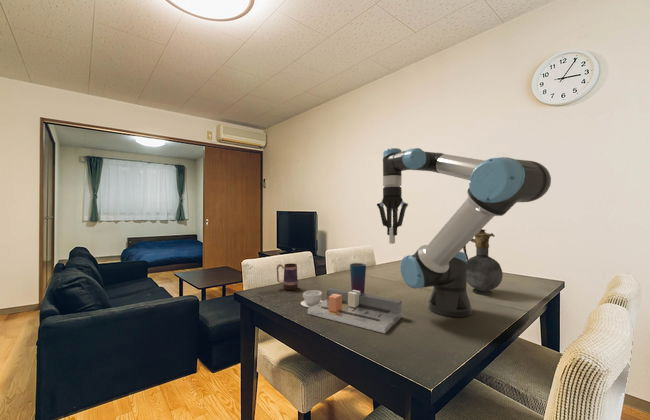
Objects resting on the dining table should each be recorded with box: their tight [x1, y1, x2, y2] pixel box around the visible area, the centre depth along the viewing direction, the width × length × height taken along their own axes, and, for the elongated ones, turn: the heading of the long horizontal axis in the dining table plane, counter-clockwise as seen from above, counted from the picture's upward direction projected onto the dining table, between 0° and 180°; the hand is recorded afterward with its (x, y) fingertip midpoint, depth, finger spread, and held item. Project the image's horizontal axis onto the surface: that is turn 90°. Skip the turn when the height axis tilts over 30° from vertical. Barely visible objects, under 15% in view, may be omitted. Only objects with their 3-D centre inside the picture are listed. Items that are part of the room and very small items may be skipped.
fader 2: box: [348, 290, 360, 307], centre depth 109 cm, size 3×4×5 cm
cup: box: [349, 262, 367, 294], centre depth 123 cm, size 7×7×15 cm
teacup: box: [300, 289, 323, 308], centre depth 118 cm, size 10×10×5 cm
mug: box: [276, 263, 299, 291], centre depth 140 cm, size 10×7×12 cm
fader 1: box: [329, 294, 342, 312], centre depth 105 cm, size 3×4×5 cm
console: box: [307, 287, 403, 334], centre depth 105 cm, size 30×16×6 cm, turn 57°
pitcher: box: [462, 228, 503, 296], centre depth 134 cm, size 11×19×30 cm, turn 18°
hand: (392, 243), depth 120 cm, fingers closed
